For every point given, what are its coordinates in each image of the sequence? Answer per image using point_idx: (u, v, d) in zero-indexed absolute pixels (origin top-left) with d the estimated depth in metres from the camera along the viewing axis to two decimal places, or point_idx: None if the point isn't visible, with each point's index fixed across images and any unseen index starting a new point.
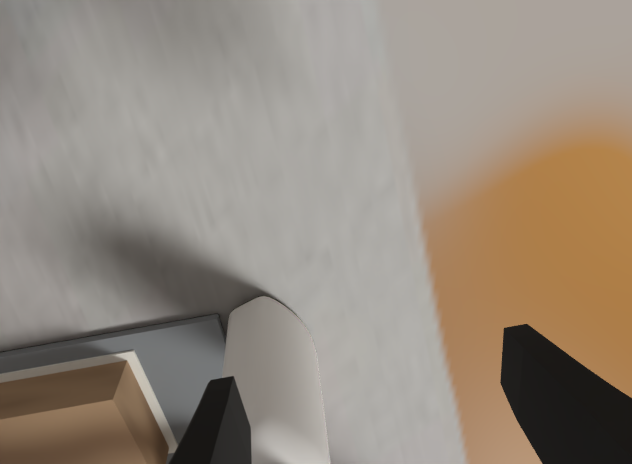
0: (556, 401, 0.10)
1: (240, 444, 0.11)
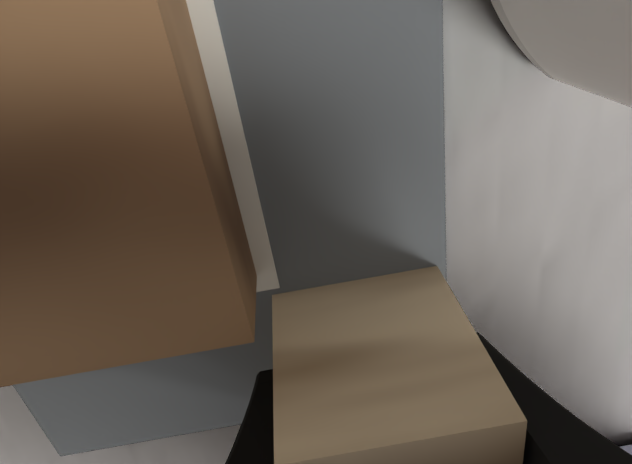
0: None
1: None
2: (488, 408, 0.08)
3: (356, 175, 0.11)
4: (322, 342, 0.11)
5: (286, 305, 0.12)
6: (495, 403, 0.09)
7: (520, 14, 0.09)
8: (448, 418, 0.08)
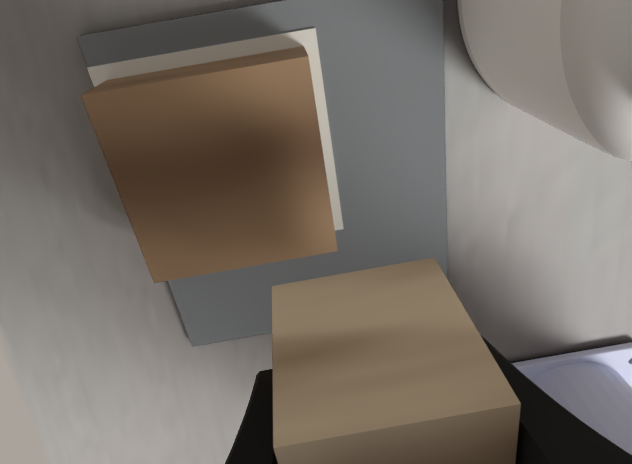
0: None
1: None
2: (483, 392, 0.09)
3: (393, 158, 0.19)
4: (320, 330, 0.11)
5: (285, 295, 0.12)
6: (490, 387, 0.09)
7: (485, 69, 0.16)
8: (444, 402, 0.09)
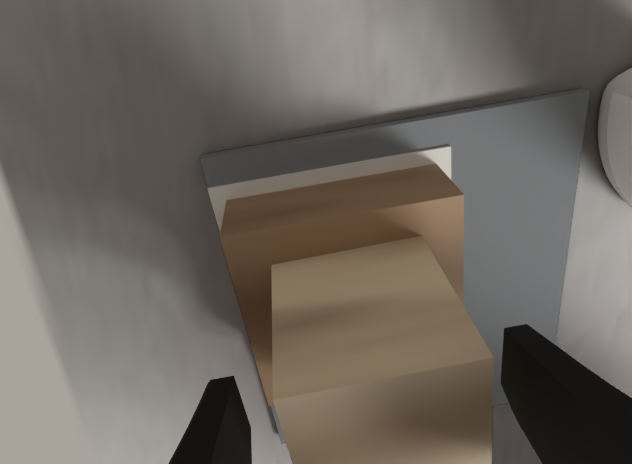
0: (556, 401, 0.10)
1: (240, 444, 0.11)
2: (460, 349, 0.10)
3: (512, 266, 0.18)
4: (316, 302, 0.12)
5: (283, 273, 0.13)
6: (467, 345, 0.10)
7: (628, 188, 0.15)
8: (425, 358, 0.10)
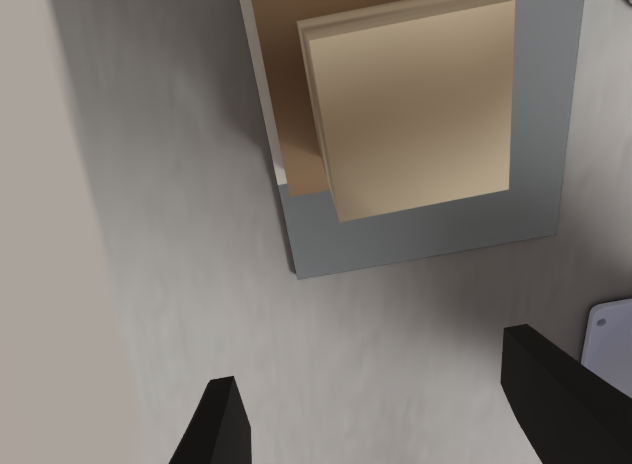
0: (556, 401, 0.10)
1: (240, 444, 0.11)
2: (483, 3, 0.10)
3: (523, 75, 0.18)
4: (342, 19, 0.12)
5: (309, 20, 0.14)
6: (489, 2, 0.10)
7: None
8: (450, 10, 0.10)
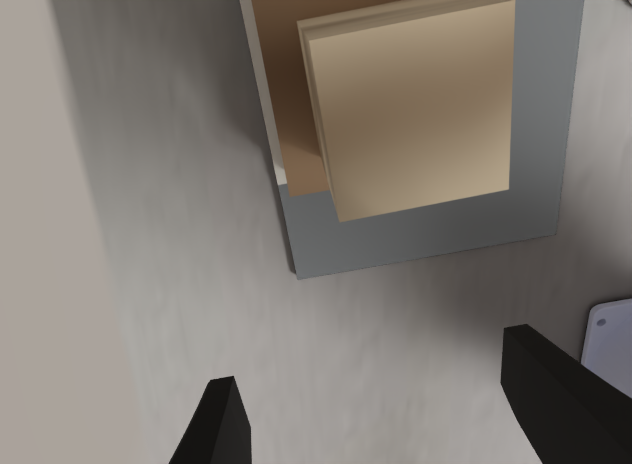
0: (556, 401, 0.10)
1: (240, 444, 0.11)
2: (483, 3, 0.10)
3: (523, 75, 0.18)
4: (342, 19, 0.12)
5: (309, 20, 0.14)
6: (489, 2, 0.10)
7: None
8: (450, 10, 0.10)
